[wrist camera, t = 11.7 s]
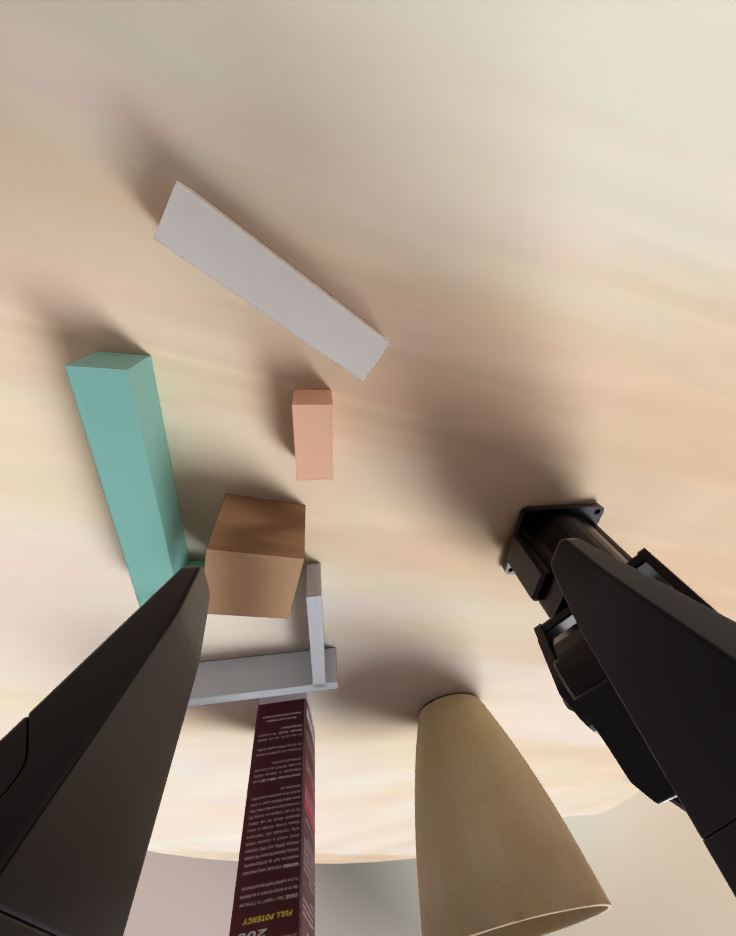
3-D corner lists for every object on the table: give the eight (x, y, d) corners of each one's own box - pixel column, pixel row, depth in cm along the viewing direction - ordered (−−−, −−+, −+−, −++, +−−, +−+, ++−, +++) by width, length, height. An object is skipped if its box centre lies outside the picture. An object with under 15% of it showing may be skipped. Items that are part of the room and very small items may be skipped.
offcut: (330, 388, 20) (332, 404, 18) (331, 457, 22) (332, 479, 20) (294, 388, 20) (291, 404, 17) (298, 458, 22) (296, 480, 20)
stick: (194, 190, 15) (176, 180, 13) (381, 334, 19) (389, 343, 17) (174, 240, 16) (153, 238, 14) (357, 368, 20) (363, 381, 18)
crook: (287, 364, 19) (283, 380, 17) (287, 577, 27) (284, 608, 24) (98, 350, 17) (64, 365, 15) (157, 580, 25) (142, 614, 23)
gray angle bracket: (333, 561, 26) (336, 594, 24) (335, 654, 32) (337, 688, 30) (161, 574, 25) (144, 611, 22) (196, 669, 31) (186, 706, 28)
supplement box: (256, 695, 34) (219, 984, 20) (307, 687, 34) (304, 965, 21) (270, 737, 38) (248, 997, 25) (315, 729, 39) (318, 981, 25)
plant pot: (364, 737, 41) (389, 972, 28) (429, 664, 35) (503, 918, 22) (465, 745, 46) (529, 947, 33) (538, 682, 40) (653, 898, 27)
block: (305, 504, 24) (304, 559, 19) (292, 559, 26) (288, 618, 22) (226, 493, 22) (206, 548, 18) (219, 551, 25) (200, 613, 20)
